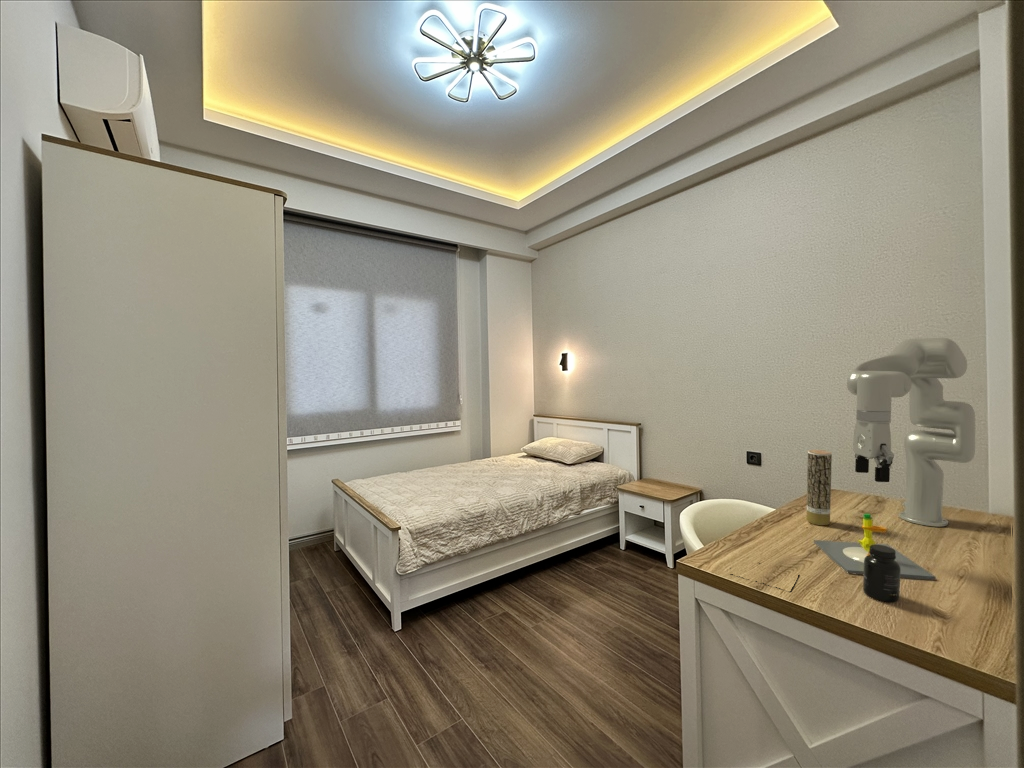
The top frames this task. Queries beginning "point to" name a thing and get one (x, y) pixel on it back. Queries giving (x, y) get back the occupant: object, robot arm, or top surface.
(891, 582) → the supplement bottle
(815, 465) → the paper tube
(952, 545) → the top surface
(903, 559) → the slate tile
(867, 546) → the toy figure
